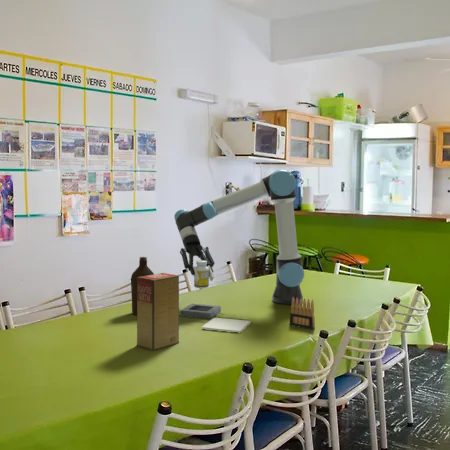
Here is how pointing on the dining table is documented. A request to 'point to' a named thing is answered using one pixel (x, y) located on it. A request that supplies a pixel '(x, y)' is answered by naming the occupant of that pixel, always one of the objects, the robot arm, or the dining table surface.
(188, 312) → the metal collar
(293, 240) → the robot arm
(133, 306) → the olive oil
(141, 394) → the dining table surface
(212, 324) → the cream tile
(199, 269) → the pill bottle
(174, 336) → the food packaging
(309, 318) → the ammunition clip
